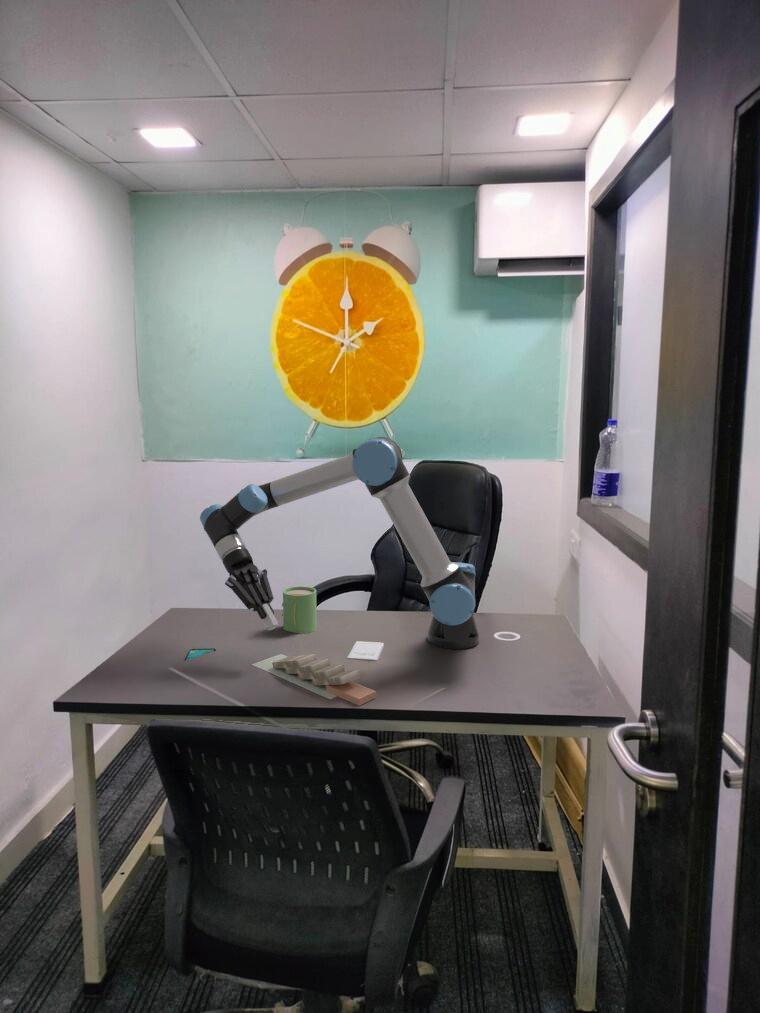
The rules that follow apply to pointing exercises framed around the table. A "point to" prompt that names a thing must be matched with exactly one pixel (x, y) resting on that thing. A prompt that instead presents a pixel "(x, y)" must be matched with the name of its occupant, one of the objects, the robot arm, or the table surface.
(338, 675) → the domino
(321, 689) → the board
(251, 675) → the table surface
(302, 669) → the domino
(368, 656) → the external hard drive
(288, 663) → the domino
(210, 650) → the smartphone
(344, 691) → the domino
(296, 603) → the mug
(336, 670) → the domino
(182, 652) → the table surface
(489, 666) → the table surface
